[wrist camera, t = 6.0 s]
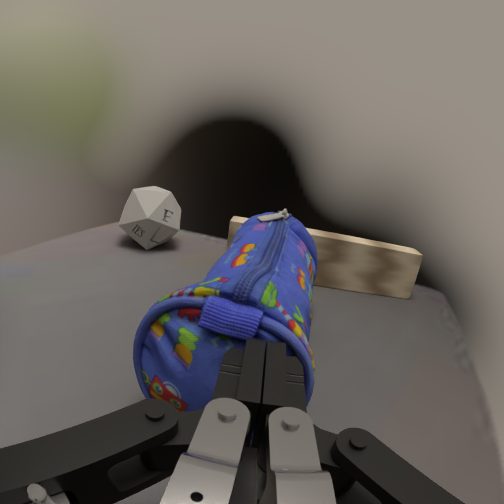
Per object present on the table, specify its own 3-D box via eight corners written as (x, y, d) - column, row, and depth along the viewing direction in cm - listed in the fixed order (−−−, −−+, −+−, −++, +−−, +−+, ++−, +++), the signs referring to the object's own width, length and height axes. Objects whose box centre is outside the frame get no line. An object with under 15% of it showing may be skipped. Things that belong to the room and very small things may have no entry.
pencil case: (231, 282, 35) (243, 195, 32) (308, 299, 34) (328, 212, 31) (129, 427, 14) (115, 263, 11) (285, 473, 13) (346, 317, 10)
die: (110, 255, 38) (149, 203, 35) (107, 210, 43) (141, 161, 39) (160, 268, 44) (202, 224, 41) (151, 225, 49) (187, 183, 45)
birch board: (223, 270, 38) (230, 221, 36) (227, 261, 41) (233, 216, 39) (409, 299, 37) (422, 255, 36) (401, 289, 40) (413, 248, 38)
